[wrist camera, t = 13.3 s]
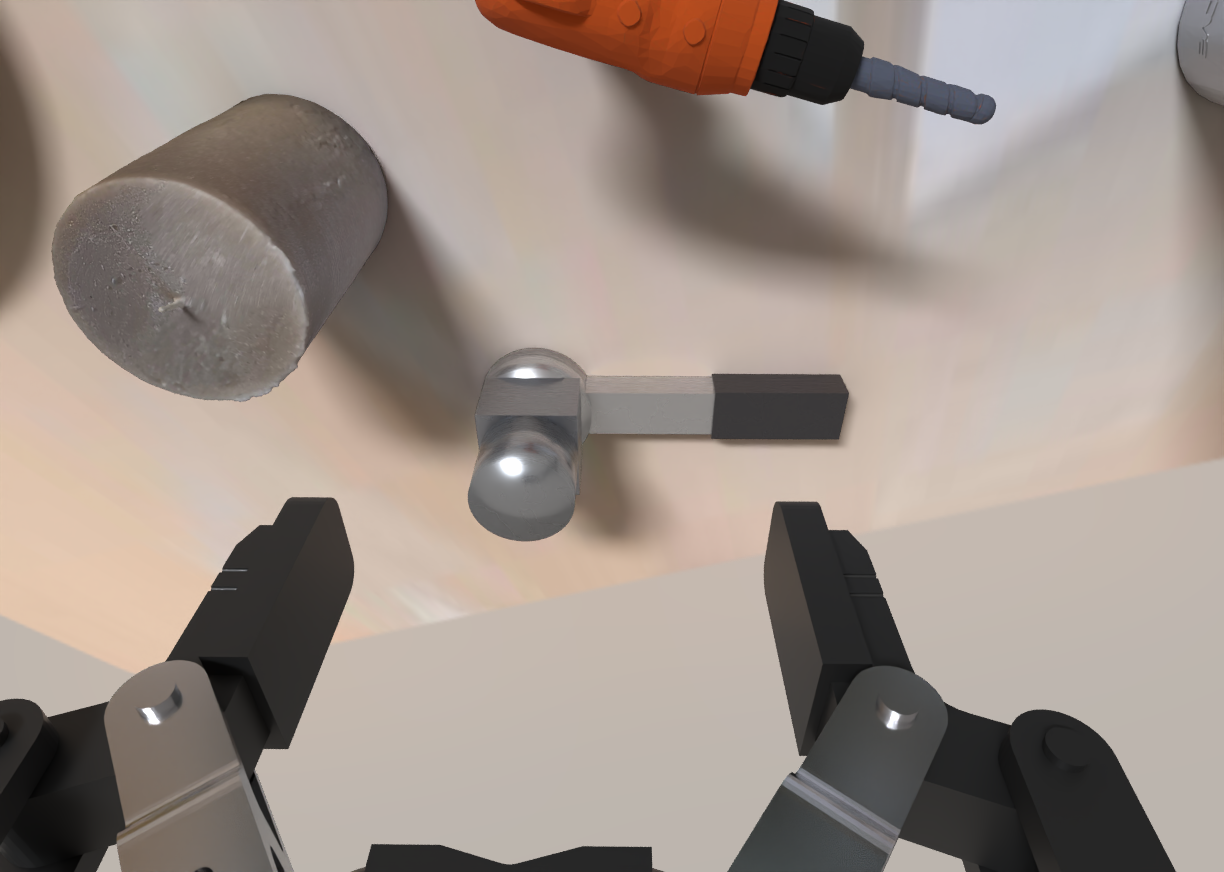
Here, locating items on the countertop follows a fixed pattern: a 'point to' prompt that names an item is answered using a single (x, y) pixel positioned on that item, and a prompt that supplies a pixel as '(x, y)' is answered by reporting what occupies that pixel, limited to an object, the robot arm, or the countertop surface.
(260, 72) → the countertop surface
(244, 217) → the pillar candle
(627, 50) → the toy drill
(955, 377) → the countertop surface
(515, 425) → the cylinder on square block
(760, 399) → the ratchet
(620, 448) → the countertop surface
